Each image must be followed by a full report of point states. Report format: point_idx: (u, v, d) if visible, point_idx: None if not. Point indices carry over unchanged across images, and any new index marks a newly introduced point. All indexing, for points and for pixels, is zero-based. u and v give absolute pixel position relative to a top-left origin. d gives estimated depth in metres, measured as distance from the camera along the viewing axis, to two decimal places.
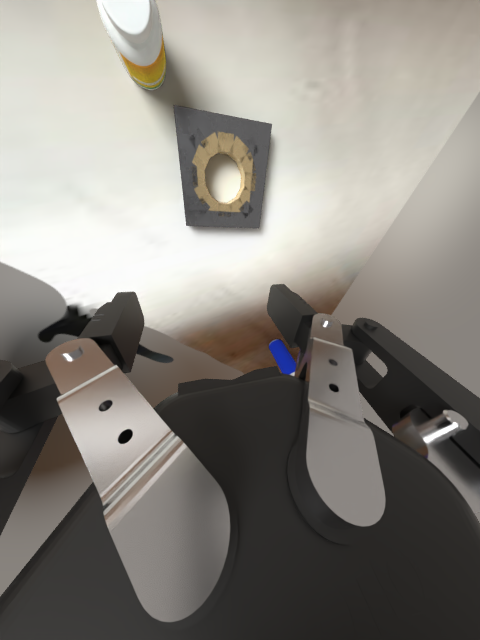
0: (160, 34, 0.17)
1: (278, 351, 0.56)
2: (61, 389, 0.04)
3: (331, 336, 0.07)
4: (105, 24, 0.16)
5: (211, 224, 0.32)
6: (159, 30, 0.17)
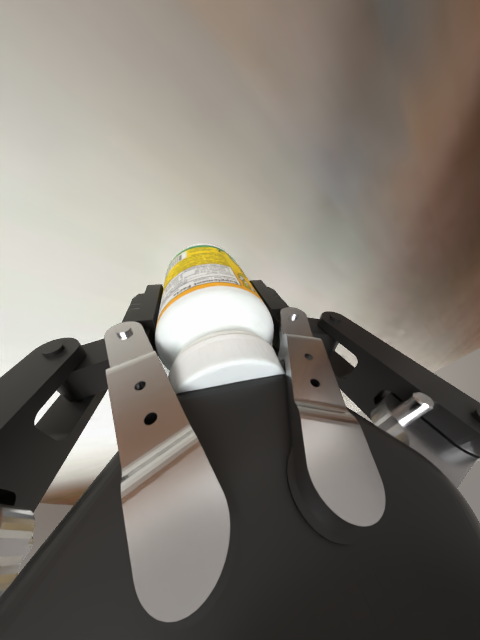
0: None
1: None
2: (110, 362, 0.05)
3: (300, 328, 0.07)
4: (158, 346, 0.07)
5: None
6: None
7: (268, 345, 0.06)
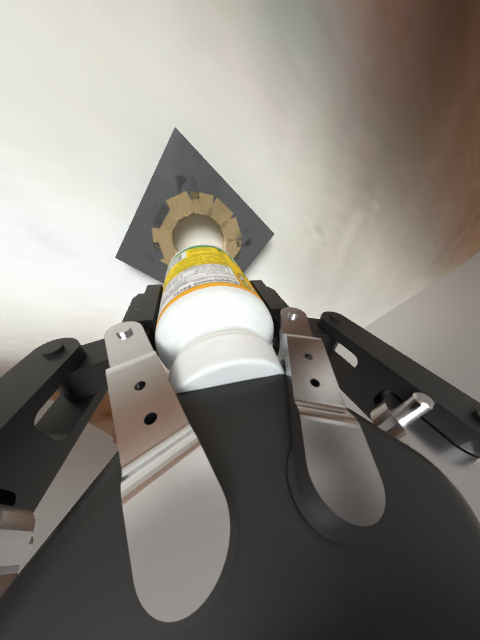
0: None
1: None
2: (111, 362, 0.05)
3: (300, 329, 0.07)
4: (158, 346, 0.07)
5: (155, 276, 0.22)
6: None
7: (268, 345, 0.06)
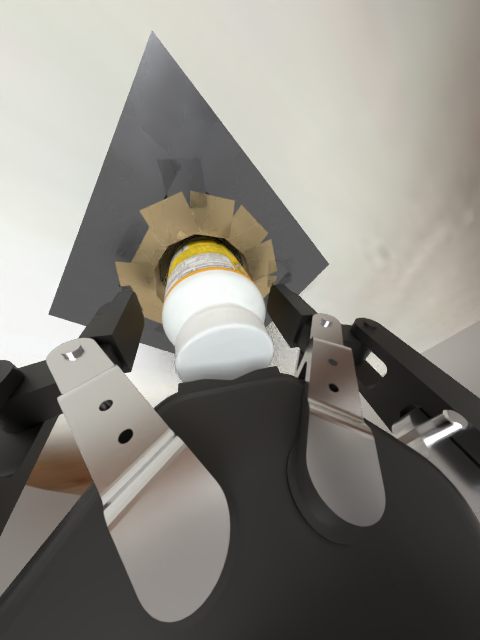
0: None
1: None
2: (61, 389, 0.04)
3: (330, 336, 0.07)
4: (165, 321, 0.08)
5: None
6: None
7: (258, 318, 0.07)
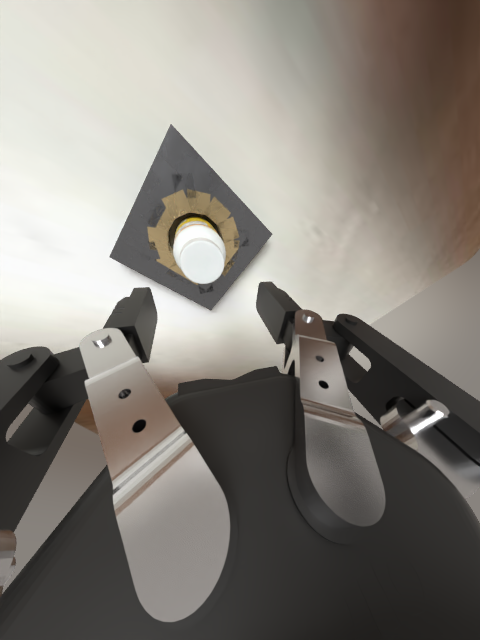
0: None
1: None
2: (89, 373, 0.05)
3: (313, 332, 0.07)
4: (174, 249, 0.16)
5: (151, 276, 0.22)
6: None
7: (216, 245, 0.16)
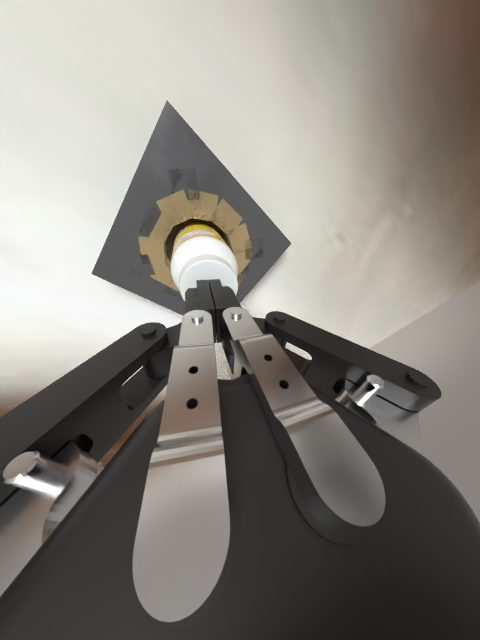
0: None
1: None
2: (180, 340, 0.06)
3: (247, 328, 0.07)
4: (173, 268, 0.13)
5: (144, 294, 0.18)
6: None
7: (228, 263, 0.12)
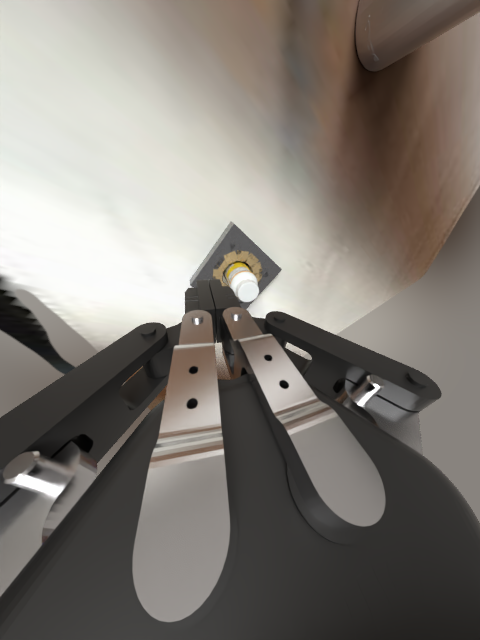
0: None
1: None
2: (180, 340, 0.06)
3: (247, 328, 0.07)
4: (232, 284, 0.31)
5: None
6: None
7: (255, 282, 0.31)
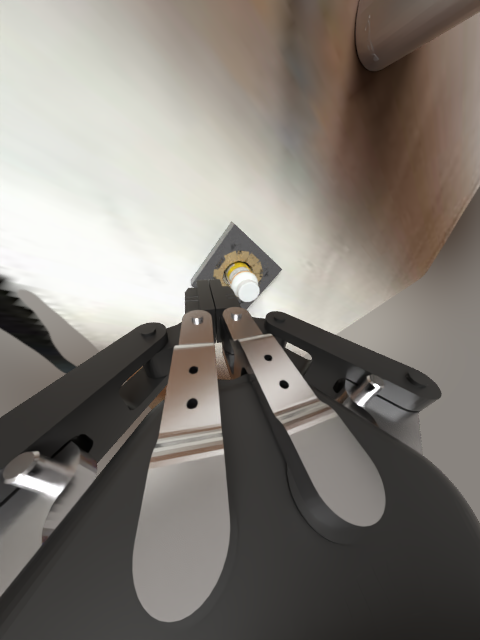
0: None
1: None
2: (180, 340, 0.06)
3: (247, 328, 0.07)
4: (233, 284, 0.31)
5: None
6: None
7: (255, 282, 0.31)
